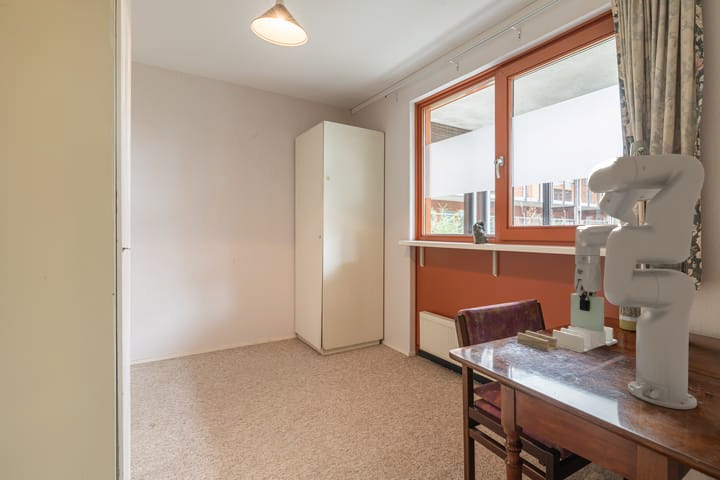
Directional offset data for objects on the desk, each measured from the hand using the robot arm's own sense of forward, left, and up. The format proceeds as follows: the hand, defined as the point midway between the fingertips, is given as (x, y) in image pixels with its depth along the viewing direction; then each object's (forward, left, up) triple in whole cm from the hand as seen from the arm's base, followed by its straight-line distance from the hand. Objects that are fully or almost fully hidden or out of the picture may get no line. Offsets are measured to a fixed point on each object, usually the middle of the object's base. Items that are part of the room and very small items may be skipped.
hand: (586, 309), depth 121 cm
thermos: (+32, -12, -13) cm, 37 cm away
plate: (0, 0, -7) cm, 7 cm away
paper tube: (+34, 0, -13) cm, 37 cm away
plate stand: (-20, +7, -12) cm, 24 cm away
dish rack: (-3, 0, -12) cm, 13 cm away
